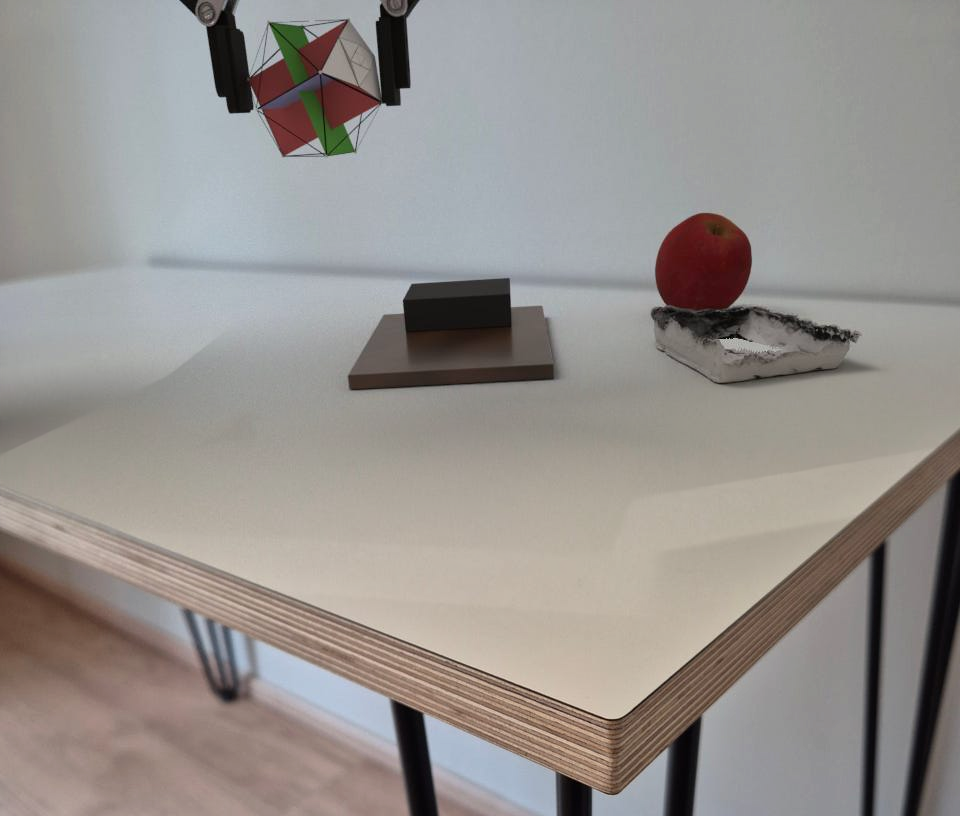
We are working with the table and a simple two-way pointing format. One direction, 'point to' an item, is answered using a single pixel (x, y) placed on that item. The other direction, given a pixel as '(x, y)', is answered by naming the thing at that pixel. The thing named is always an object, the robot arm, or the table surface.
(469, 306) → the black block
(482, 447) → the table surface
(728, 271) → the apple
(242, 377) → the table surface
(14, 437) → the table surface
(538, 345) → the assembly board
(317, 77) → the geometric puzzle
